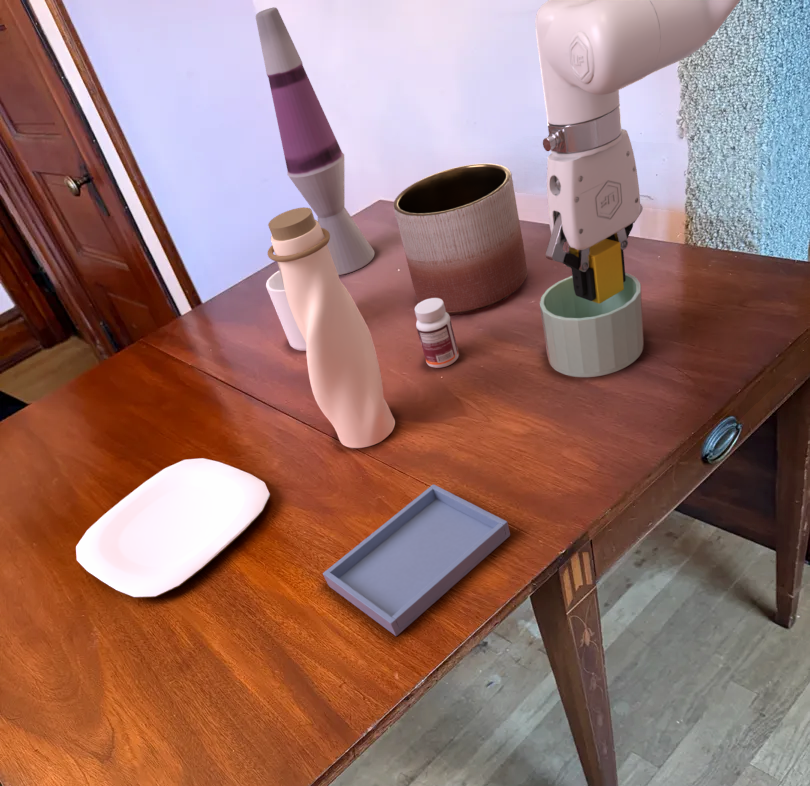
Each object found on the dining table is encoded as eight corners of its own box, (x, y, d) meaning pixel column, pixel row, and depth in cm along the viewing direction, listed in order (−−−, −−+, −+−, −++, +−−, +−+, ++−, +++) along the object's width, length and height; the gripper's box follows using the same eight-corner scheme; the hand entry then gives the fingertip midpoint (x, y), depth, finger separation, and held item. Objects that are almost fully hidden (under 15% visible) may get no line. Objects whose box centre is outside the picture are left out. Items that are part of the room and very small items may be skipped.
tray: (437, 497, 84) (433, 483, 83) (510, 535, 77) (507, 521, 75) (328, 586, 78) (322, 573, 77) (396, 636, 71) (390, 623, 70)
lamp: (318, 281, 136) (227, 28, 110) (321, 257, 144) (237, 15, 117) (374, 266, 134) (296, 5, 108) (375, 243, 142) (302, -7, 116)
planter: (512, 251, 124) (496, 152, 114) (542, 294, 111) (526, 187, 100) (410, 284, 125) (385, 188, 115) (427, 331, 112) (400, 228, 102)
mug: (331, 351, 116) (309, 289, 109) (279, 352, 120) (254, 293, 113) (364, 308, 123) (345, 249, 116) (313, 311, 128) (292, 254, 121)
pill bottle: (434, 349, 108) (420, 296, 102) (464, 350, 105) (451, 295, 100) (420, 368, 105) (405, 314, 99) (451, 369, 103) (437, 314, 97)
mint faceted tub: (643, 321, 99) (641, 264, 93) (643, 372, 91) (640, 312, 85) (552, 332, 103) (544, 277, 97) (544, 381, 95) (535, 325, 89)
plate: (63, 559, 94) (56, 550, 93) (191, 457, 104) (186, 447, 103) (157, 621, 81) (150, 611, 80) (293, 497, 91) (288, 487, 90)
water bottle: (314, 436, 100) (227, 231, 81) (363, 400, 103) (290, 195, 84) (362, 460, 93) (279, 242, 74) (412, 420, 96) (345, 203, 78)
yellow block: (601, 282, 94) (597, 235, 91) (624, 289, 92) (620, 242, 88) (577, 296, 94) (571, 250, 90) (599, 304, 91) (594, 256, 87)
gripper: (546, 166, 76) (568, 328, 88) (668, 102, 79) (673, 266, 91) (502, 158, 81) (528, 311, 93) (618, 99, 85) (629, 253, 97)
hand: (600, 287), depth 92 cm, fingers closed on yellow block, 4 cm apart
